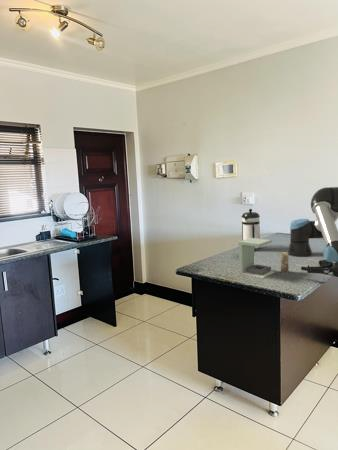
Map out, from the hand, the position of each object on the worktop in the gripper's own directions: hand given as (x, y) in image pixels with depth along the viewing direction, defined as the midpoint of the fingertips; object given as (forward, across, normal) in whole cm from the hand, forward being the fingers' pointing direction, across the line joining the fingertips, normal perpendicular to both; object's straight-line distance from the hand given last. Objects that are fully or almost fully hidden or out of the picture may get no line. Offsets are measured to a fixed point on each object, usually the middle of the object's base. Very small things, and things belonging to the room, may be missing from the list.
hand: (301, 263), depth 187 cm
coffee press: (+55, +39, -6) cm, 68 cm away
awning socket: (+21, -11, -6) cm, 25 cm away
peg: (+10, 0, -6) cm, 12 cm away
